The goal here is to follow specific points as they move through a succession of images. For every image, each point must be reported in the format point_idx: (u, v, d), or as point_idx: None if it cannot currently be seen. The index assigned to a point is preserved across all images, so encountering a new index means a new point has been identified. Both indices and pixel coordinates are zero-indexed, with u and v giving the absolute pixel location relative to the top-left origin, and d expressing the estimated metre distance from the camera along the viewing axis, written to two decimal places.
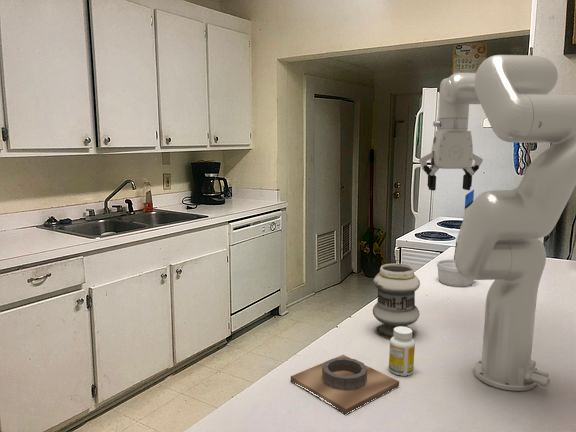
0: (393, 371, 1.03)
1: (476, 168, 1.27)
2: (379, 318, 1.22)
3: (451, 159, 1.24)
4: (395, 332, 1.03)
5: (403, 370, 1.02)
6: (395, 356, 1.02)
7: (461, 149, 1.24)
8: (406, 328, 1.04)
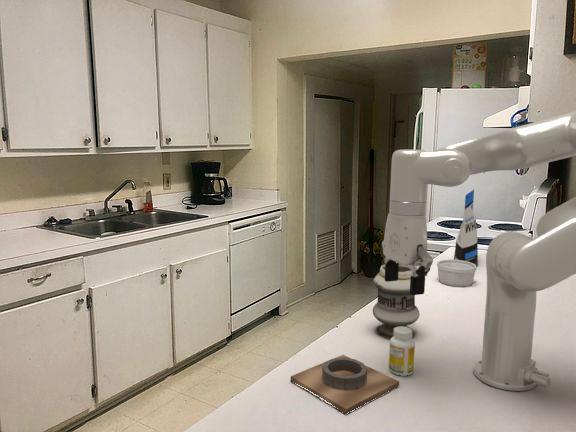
0: (393, 371, 1.03)
1: (420, 269, 0.94)
2: (379, 318, 1.22)
3: (391, 249, 1.01)
4: (395, 332, 1.03)
5: (403, 370, 1.02)
6: (395, 356, 1.02)
7: (398, 239, 0.98)
8: (406, 328, 1.04)
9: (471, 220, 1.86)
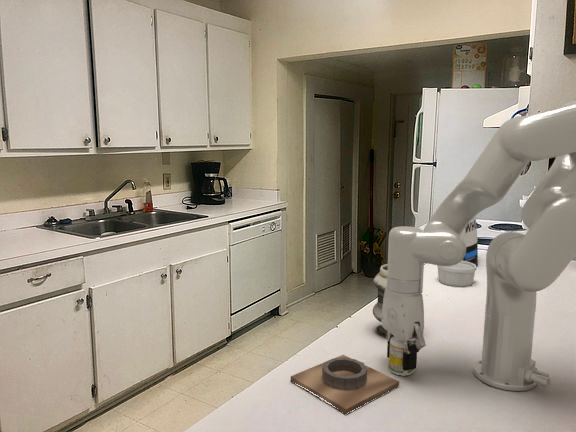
0: (393, 371, 1.03)
1: (412, 348, 0.99)
2: (379, 318, 1.22)
3: (389, 322, 1.03)
4: None
5: (403, 370, 1.02)
6: (395, 355, 1.02)
7: (395, 315, 1.00)
8: None
9: (471, 220, 1.86)
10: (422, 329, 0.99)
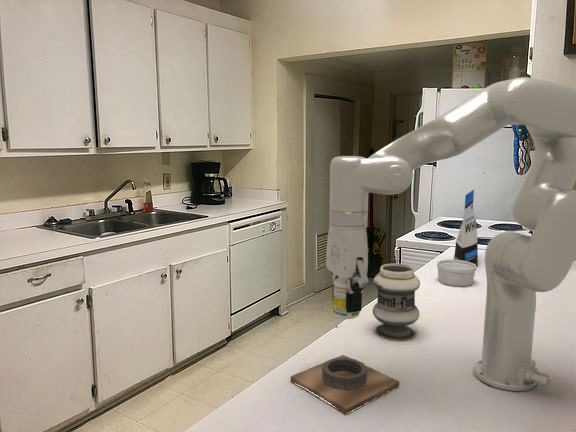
0: (337, 314, 0.95)
1: (355, 286, 0.91)
2: (379, 318, 1.22)
3: (332, 261, 0.95)
4: None
5: (347, 313, 0.94)
6: (339, 297, 0.94)
7: (338, 251, 0.92)
8: None
9: (471, 220, 1.86)
10: (366, 266, 0.91)
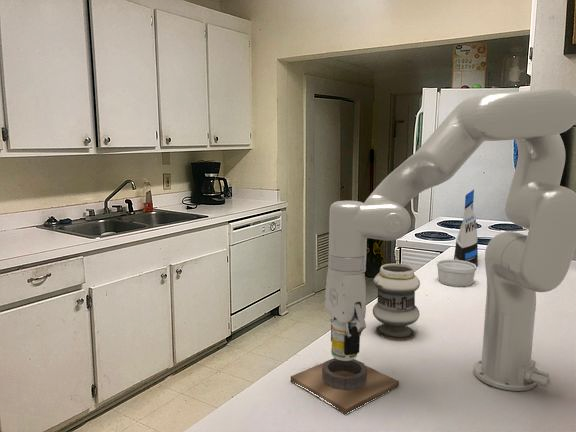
0: (335, 356, 0.96)
1: (353, 330, 0.92)
2: (379, 318, 1.22)
3: (331, 304, 0.96)
4: None
5: (345, 355, 0.95)
6: (337, 339, 0.95)
7: (336, 295, 0.94)
8: None
9: (471, 220, 1.86)
10: (364, 310, 0.92)
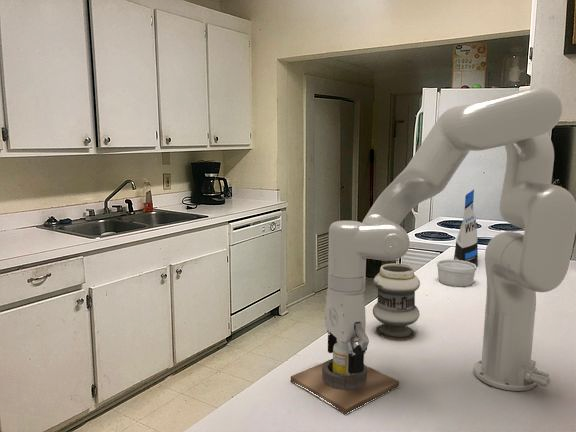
0: None
1: (357, 349, 0.91)
2: (379, 318, 1.22)
3: (330, 323, 0.97)
4: None
5: None
6: (338, 363, 0.96)
7: (336, 315, 0.94)
8: None
9: (471, 220, 1.86)
10: (363, 330, 0.93)
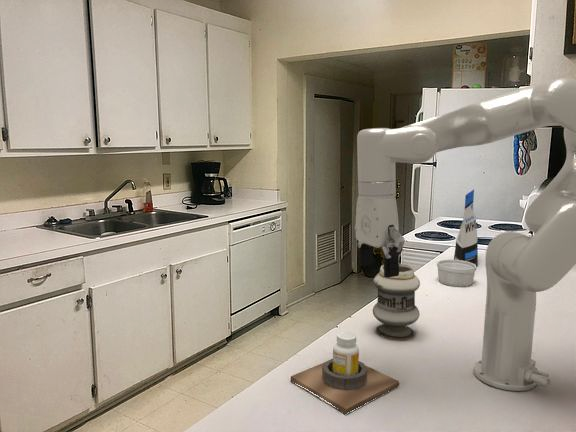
0: None
1: (393, 250, 0.92)
2: (379, 318, 1.22)
3: (363, 232, 0.98)
4: (338, 338, 0.97)
5: None
6: (338, 363, 0.96)
7: (369, 221, 0.95)
8: (350, 333, 0.98)
9: (471, 220, 1.86)
10: None
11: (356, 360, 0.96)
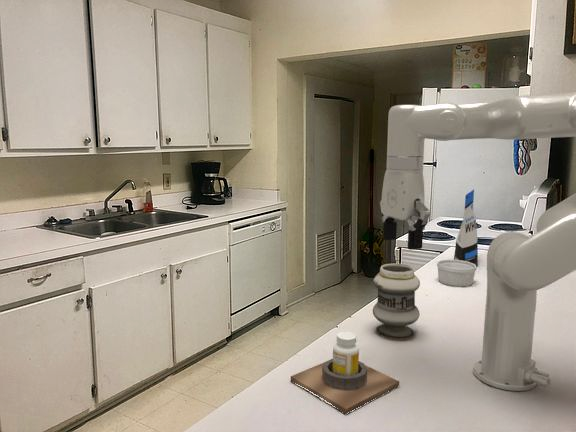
0: None
1: (418, 223, 0.95)
2: (379, 318, 1.22)
3: (389, 206, 1.01)
4: (338, 338, 0.97)
5: None
6: (338, 363, 0.96)
7: (395, 195, 0.99)
8: (350, 333, 0.98)
9: (471, 220, 1.86)
10: None
11: (356, 360, 0.96)
